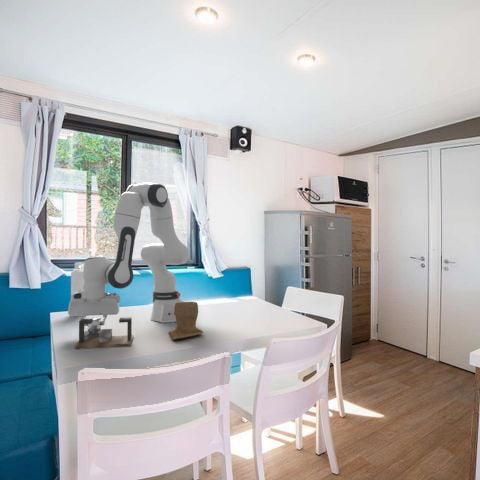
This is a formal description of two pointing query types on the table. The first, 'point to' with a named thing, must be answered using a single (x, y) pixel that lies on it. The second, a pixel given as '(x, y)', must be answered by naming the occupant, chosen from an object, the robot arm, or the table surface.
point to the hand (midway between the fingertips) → (94, 325)
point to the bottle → (77, 278)
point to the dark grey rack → (104, 336)
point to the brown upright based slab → (185, 320)
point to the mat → (95, 334)
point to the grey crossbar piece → (94, 325)
